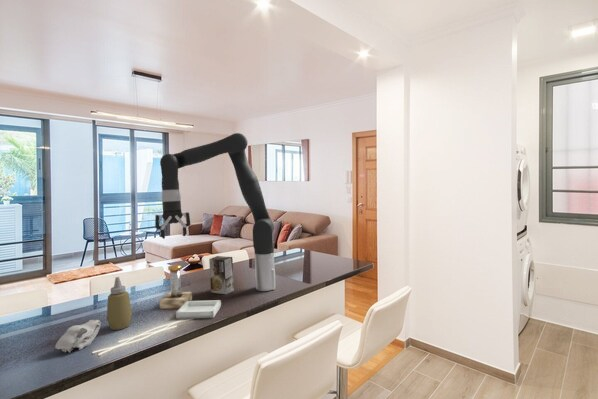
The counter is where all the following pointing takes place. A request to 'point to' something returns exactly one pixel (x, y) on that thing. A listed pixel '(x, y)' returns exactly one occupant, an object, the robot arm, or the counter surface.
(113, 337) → the counter surface
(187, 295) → the socket block
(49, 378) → the counter surface
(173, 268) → the pin
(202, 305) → the tray
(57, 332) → the counter surface
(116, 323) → the squeeze bottle
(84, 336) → the skull
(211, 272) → the coffee box
